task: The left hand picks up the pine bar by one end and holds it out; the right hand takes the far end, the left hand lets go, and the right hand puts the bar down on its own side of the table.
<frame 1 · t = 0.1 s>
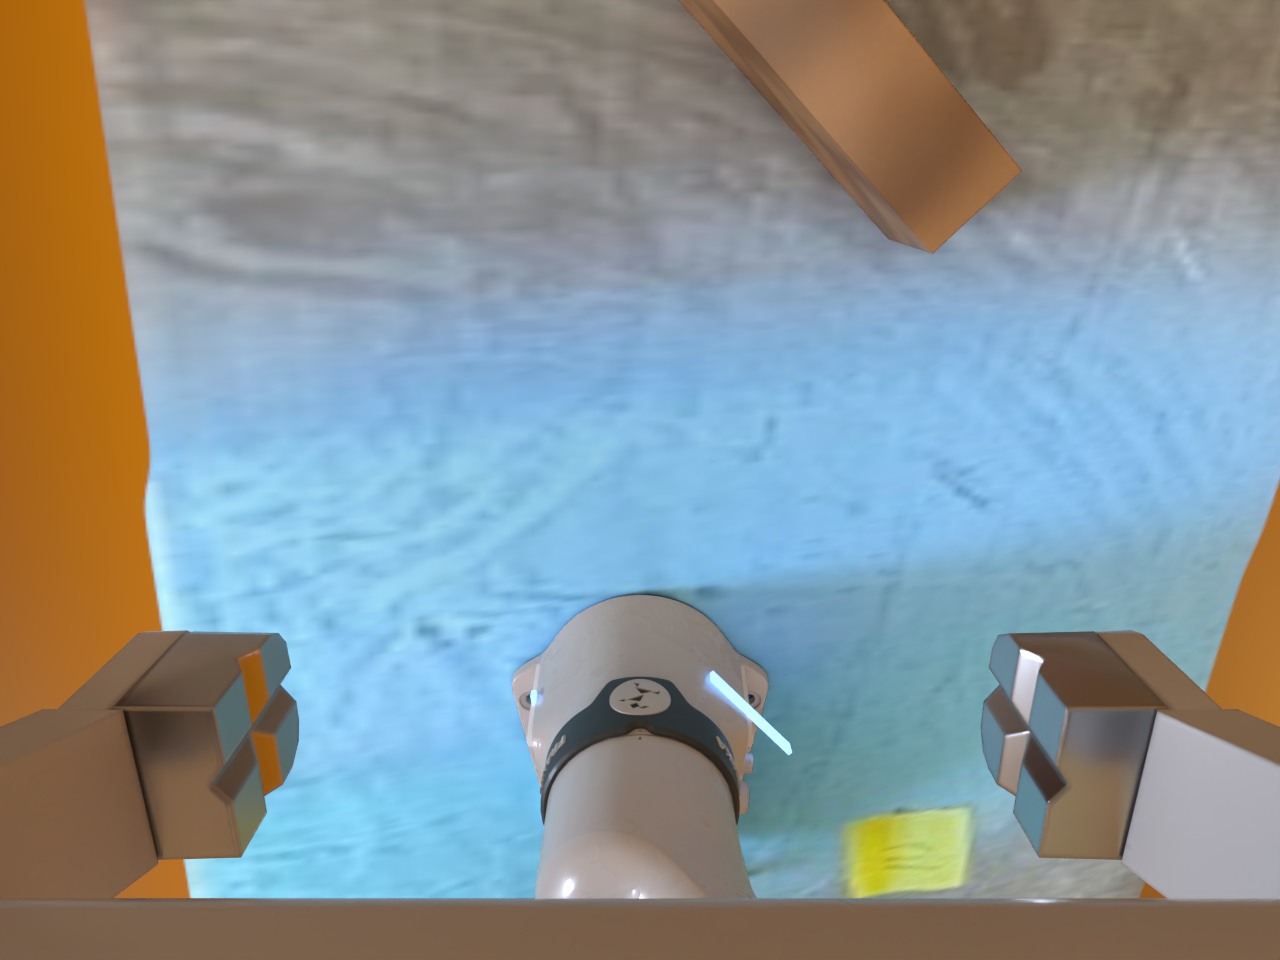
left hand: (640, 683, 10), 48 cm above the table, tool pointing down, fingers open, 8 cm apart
bar: (773, 26, 51), on the table
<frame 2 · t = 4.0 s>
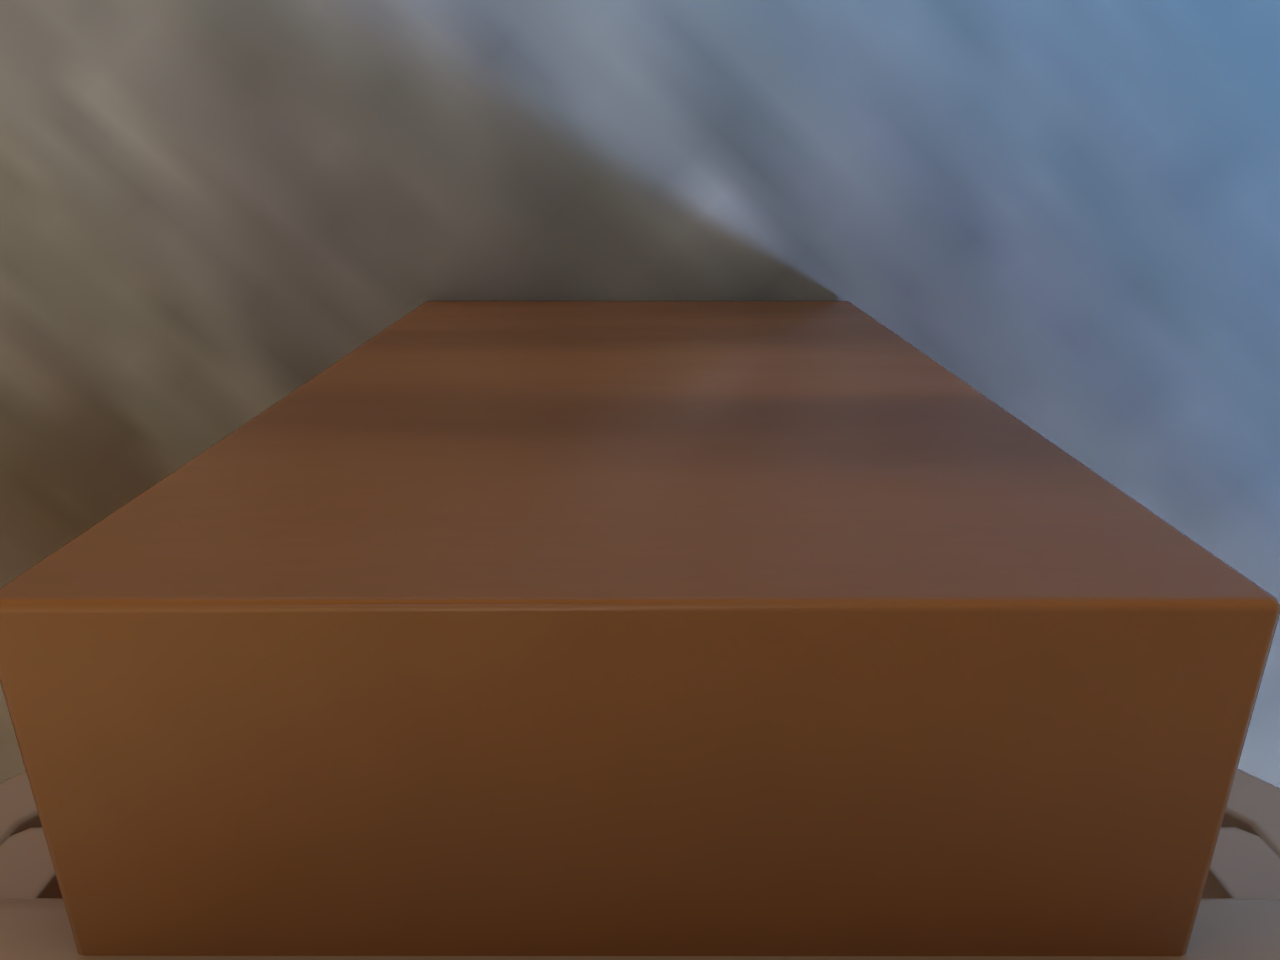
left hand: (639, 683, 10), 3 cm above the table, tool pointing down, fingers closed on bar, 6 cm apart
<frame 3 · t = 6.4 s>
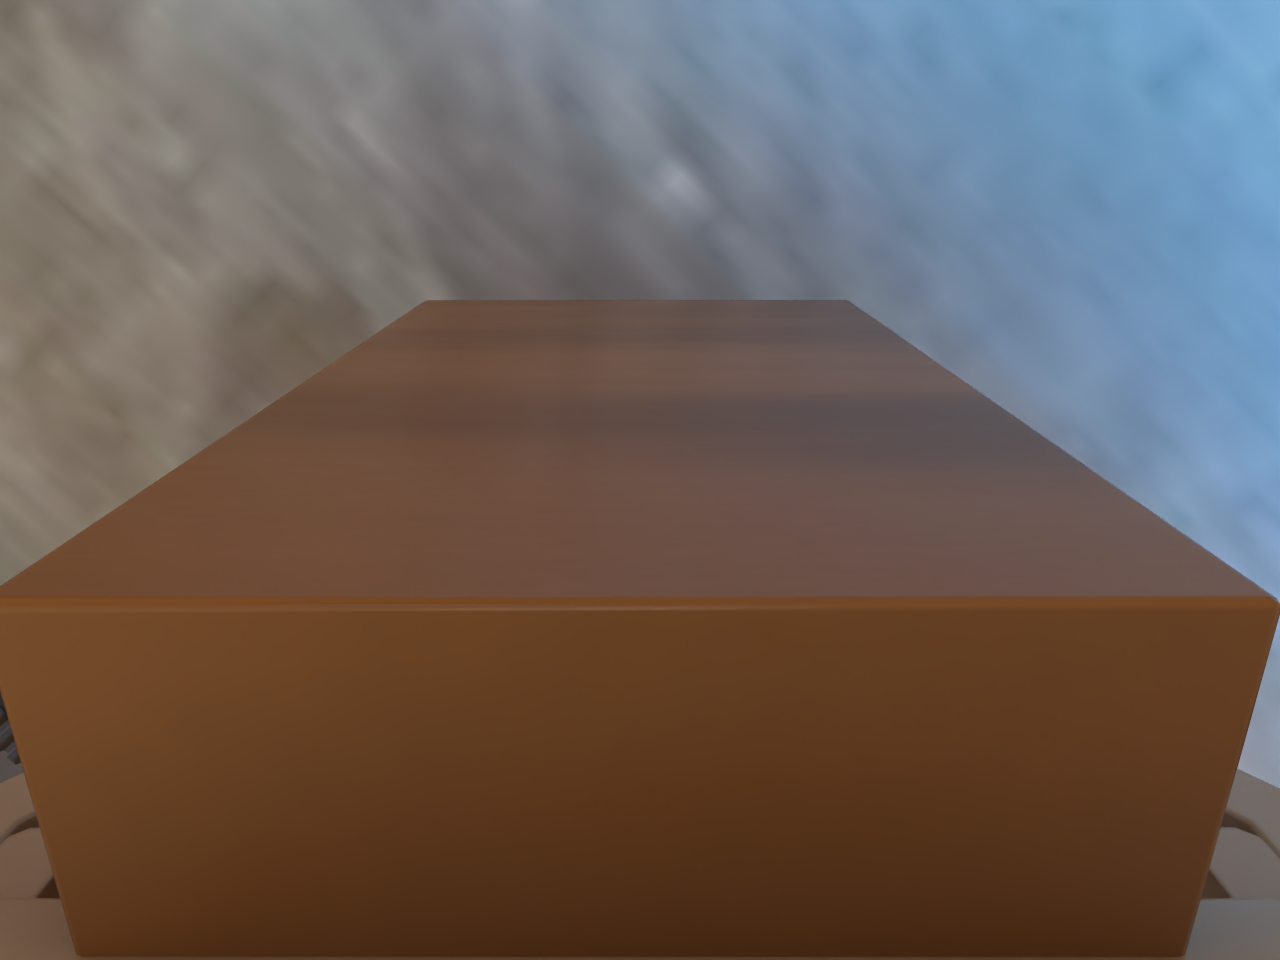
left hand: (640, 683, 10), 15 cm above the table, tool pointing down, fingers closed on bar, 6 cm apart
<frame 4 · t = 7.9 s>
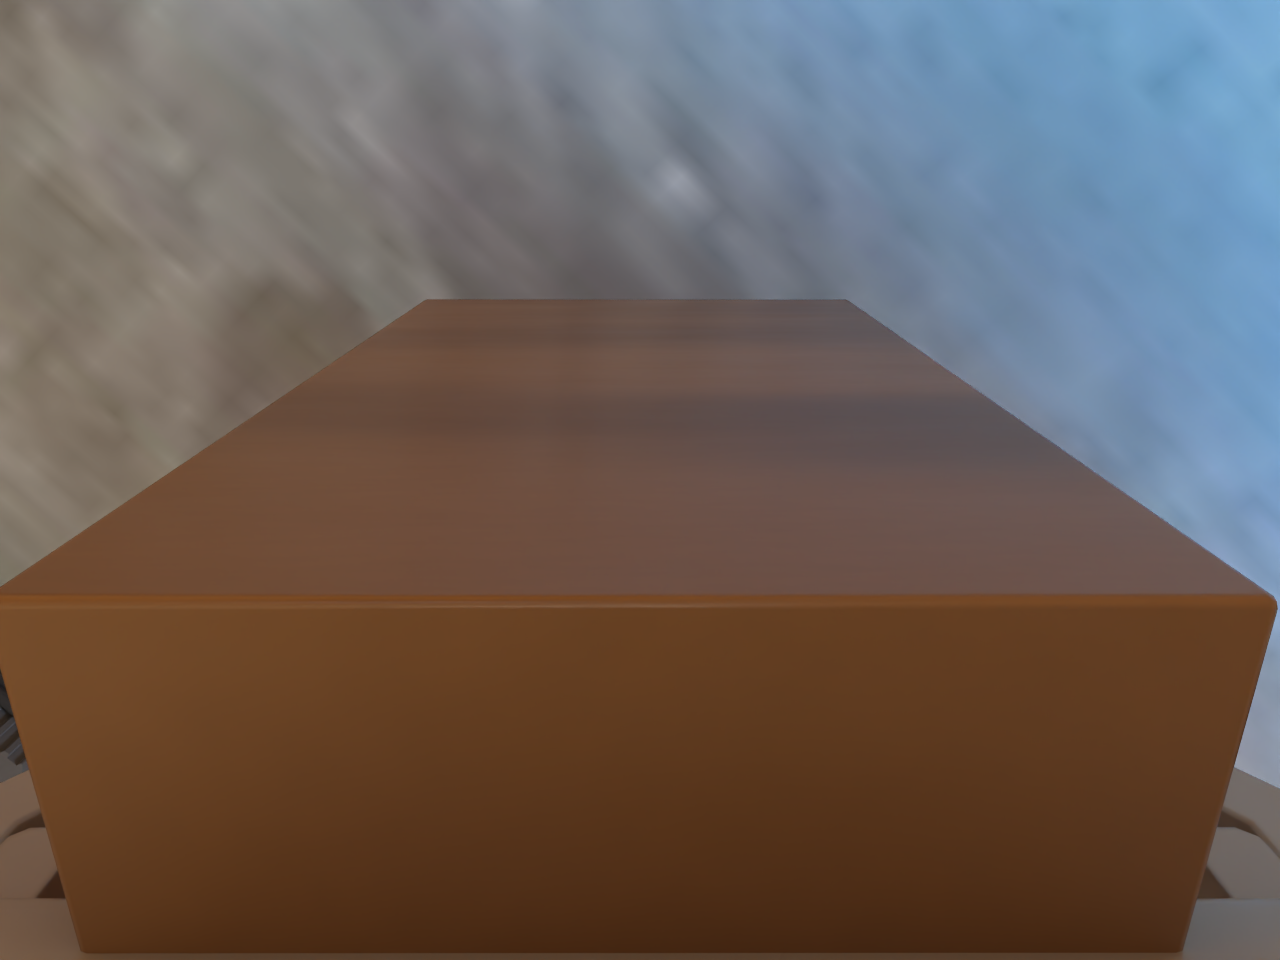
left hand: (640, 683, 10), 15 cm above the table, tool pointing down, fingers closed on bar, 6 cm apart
when the left hand's fingers open (15 cm above the table, at t = 9.2 s): bar stays where it is, held by the right hand.
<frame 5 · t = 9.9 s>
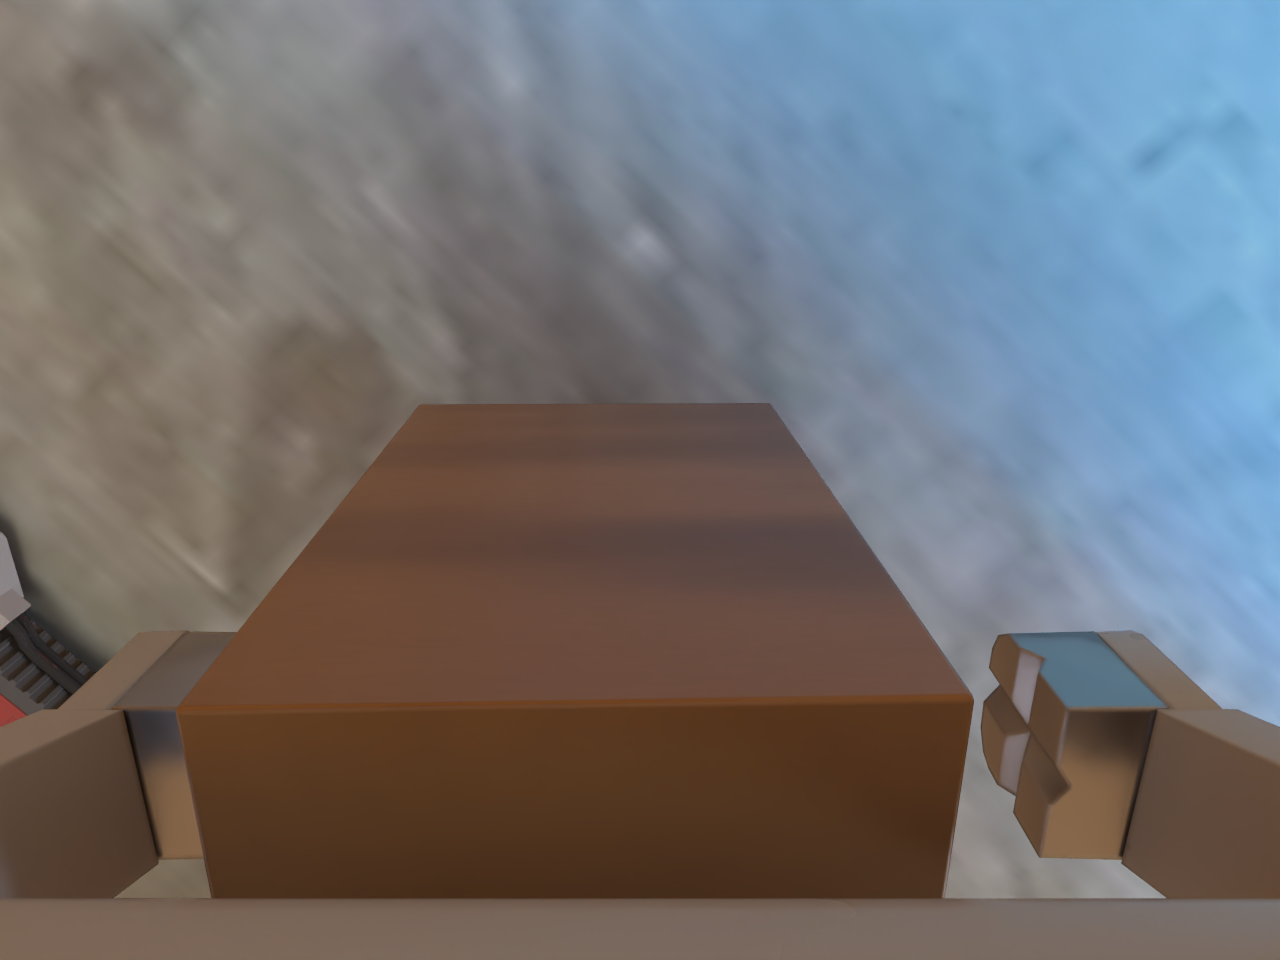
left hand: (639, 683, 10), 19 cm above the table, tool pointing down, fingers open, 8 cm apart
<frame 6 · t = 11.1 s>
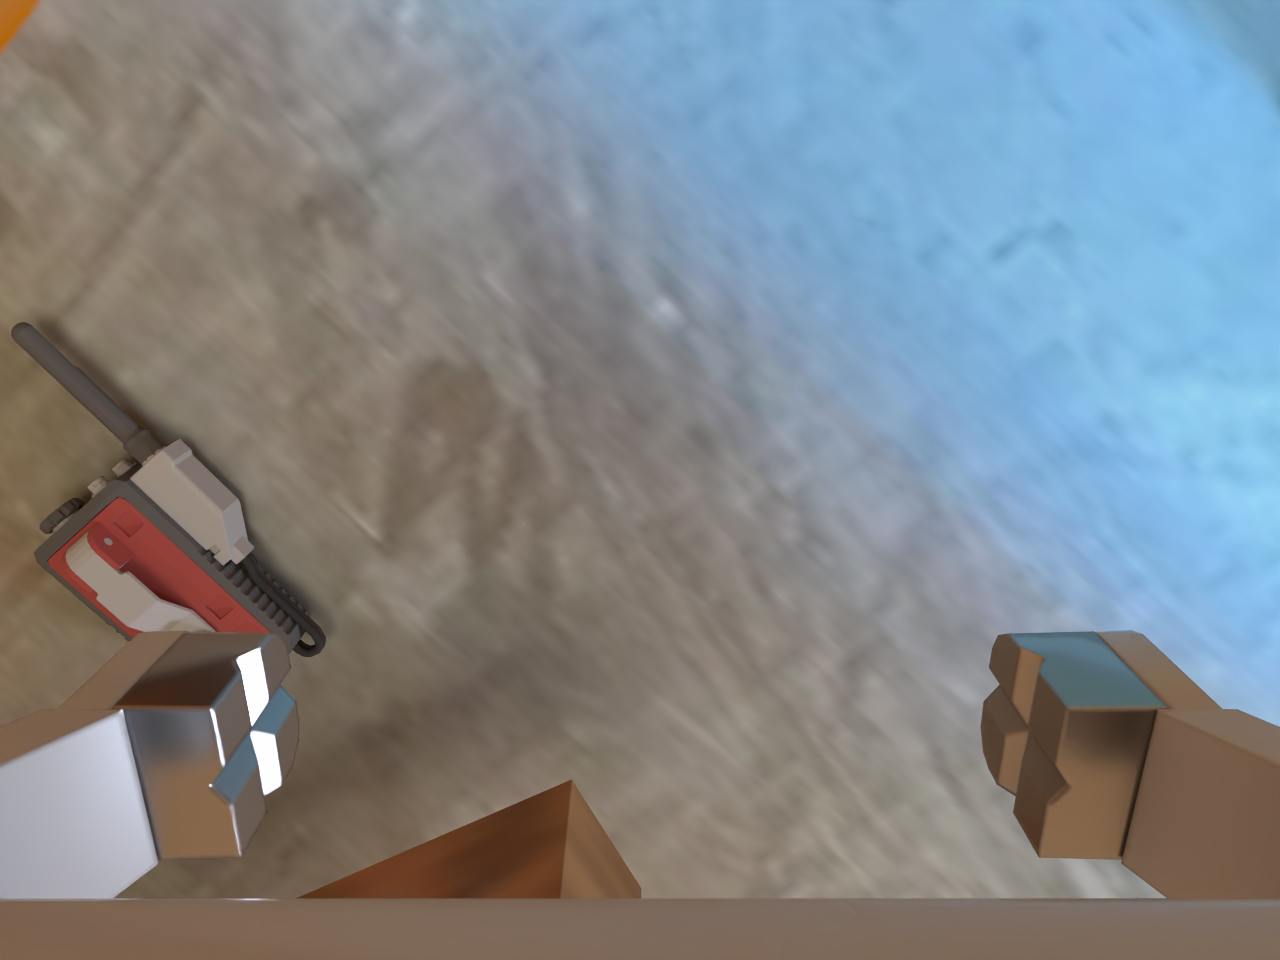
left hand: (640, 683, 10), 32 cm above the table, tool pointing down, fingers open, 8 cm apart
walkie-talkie: (159, 517, 44), on the table
when the right hand's fingers open (5 cm above the table, at t = 14.5 s): bar drops 2 cm, on the table.
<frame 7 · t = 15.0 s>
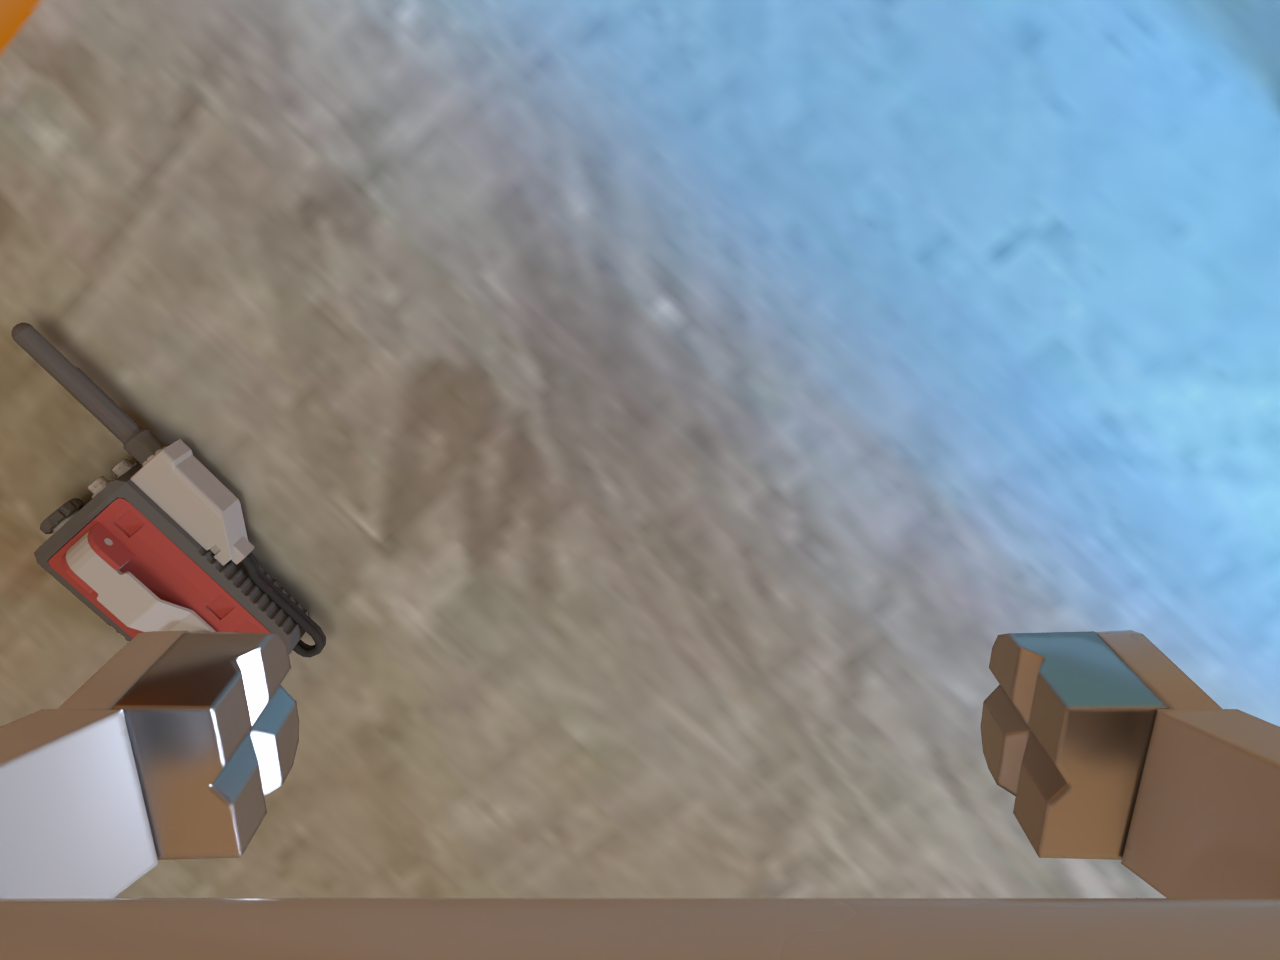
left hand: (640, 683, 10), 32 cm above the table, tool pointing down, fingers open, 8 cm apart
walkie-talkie: (160, 518, 44), on the table
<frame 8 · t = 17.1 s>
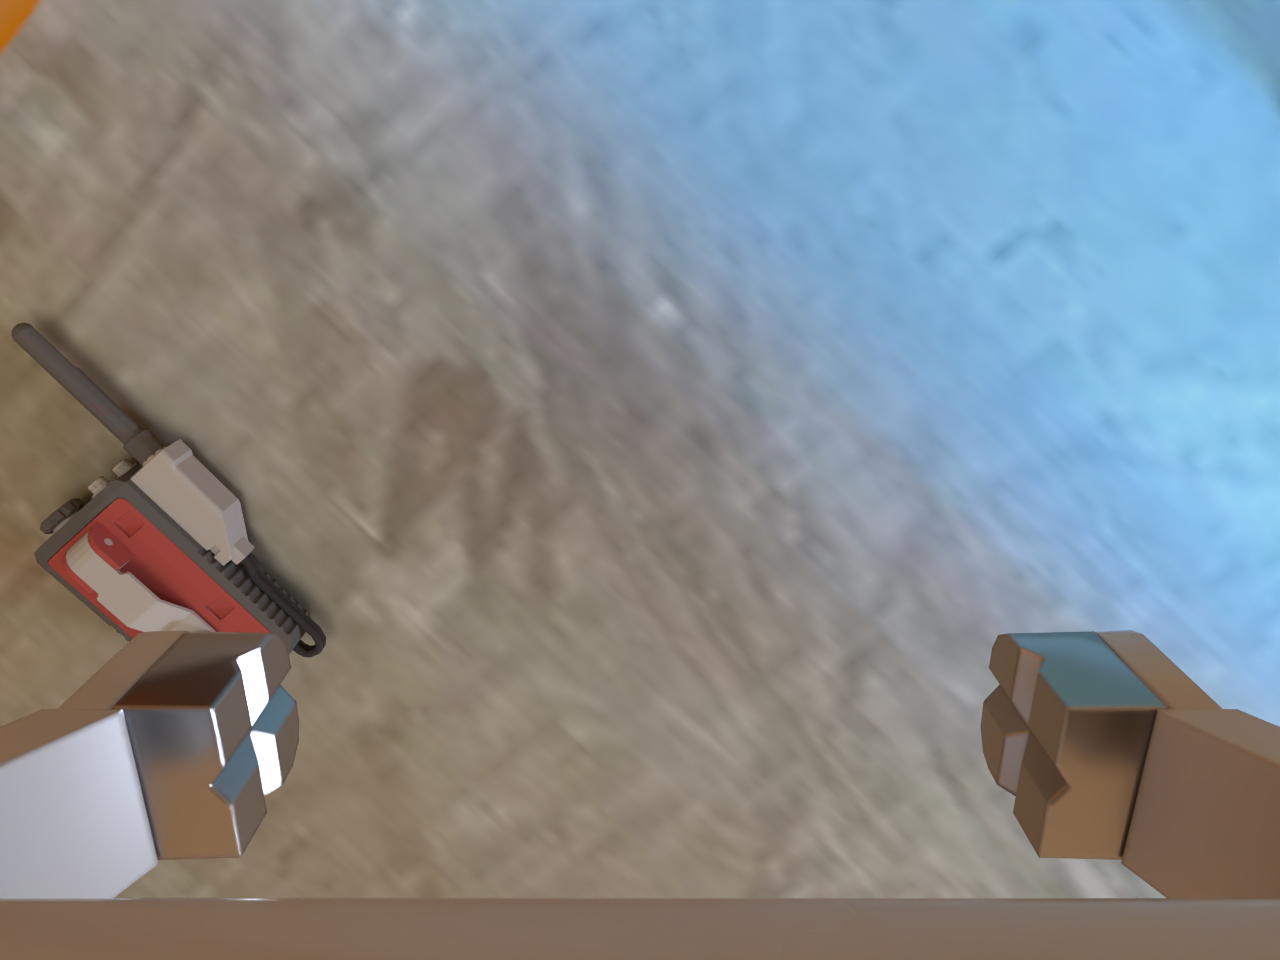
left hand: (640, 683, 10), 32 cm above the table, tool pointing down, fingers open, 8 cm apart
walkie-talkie: (160, 518, 44), on the table
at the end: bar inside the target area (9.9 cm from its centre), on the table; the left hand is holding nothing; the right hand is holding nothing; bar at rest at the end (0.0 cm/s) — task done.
